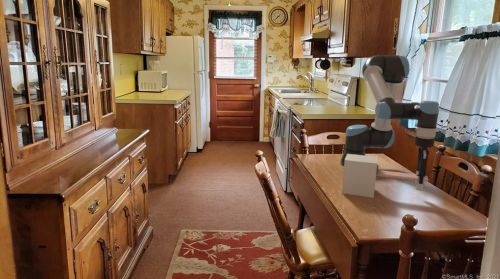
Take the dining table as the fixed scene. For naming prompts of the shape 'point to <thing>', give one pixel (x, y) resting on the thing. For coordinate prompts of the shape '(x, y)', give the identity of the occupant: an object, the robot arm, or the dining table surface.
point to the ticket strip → (399, 175)
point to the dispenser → (359, 175)
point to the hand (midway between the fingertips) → (418, 187)
